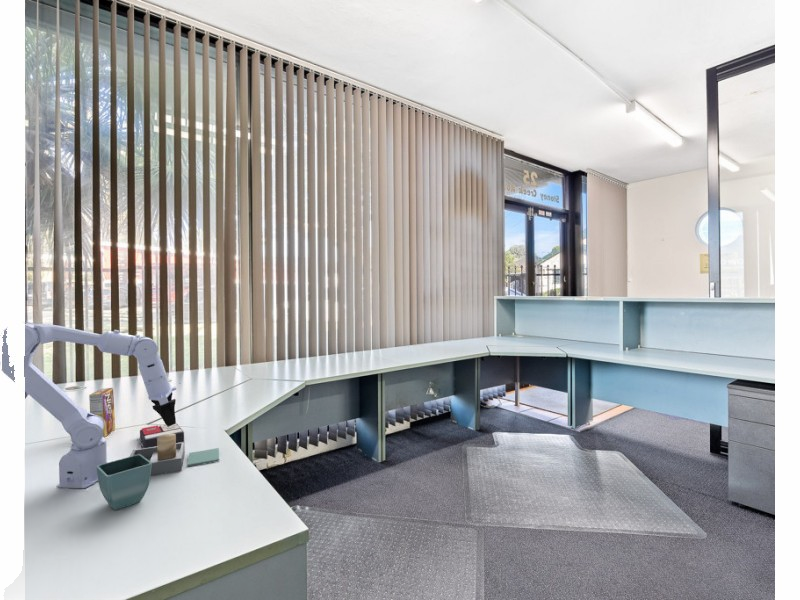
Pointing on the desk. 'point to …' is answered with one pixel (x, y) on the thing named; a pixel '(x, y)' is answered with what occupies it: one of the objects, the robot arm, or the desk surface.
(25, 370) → the robot arm
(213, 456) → the mat
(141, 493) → the flower pot
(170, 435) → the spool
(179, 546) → the desk surface
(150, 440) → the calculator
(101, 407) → the candy box
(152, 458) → the organiser box
